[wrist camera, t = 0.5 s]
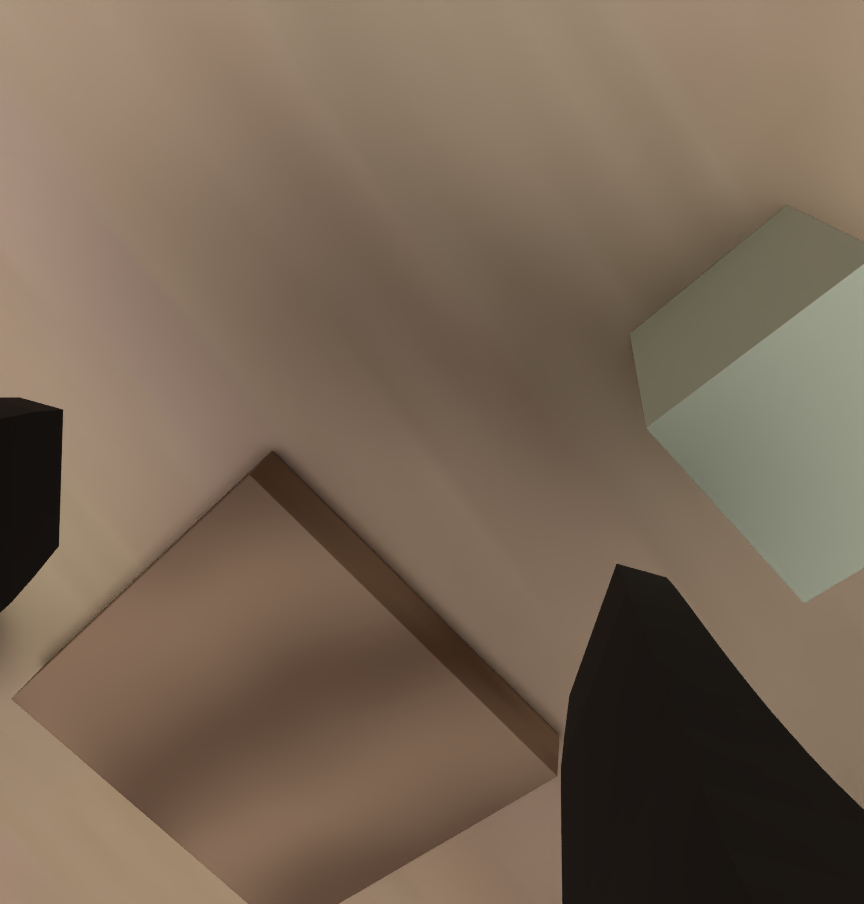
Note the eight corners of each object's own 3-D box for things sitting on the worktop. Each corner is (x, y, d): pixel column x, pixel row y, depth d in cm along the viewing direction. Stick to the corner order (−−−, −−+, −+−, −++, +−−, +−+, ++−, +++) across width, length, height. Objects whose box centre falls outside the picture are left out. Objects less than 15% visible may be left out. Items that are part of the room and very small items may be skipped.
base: (559, 735, 23) (557, 775, 21) (300, 893, 27) (284, 935, 25) (272, 451, 21) (249, 474, 20) (42, 667, 25) (10, 699, 24)
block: (904, 348, 17) (1046, 458, 12) (742, 461, 19) (804, 603, 13) (787, 205, 17) (882, 250, 11) (629, 333, 18) (646, 428, 13)
